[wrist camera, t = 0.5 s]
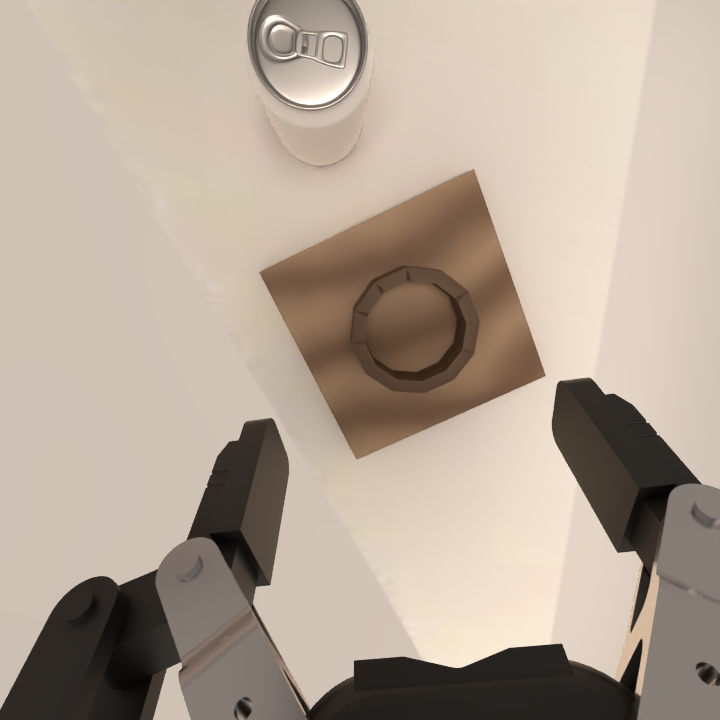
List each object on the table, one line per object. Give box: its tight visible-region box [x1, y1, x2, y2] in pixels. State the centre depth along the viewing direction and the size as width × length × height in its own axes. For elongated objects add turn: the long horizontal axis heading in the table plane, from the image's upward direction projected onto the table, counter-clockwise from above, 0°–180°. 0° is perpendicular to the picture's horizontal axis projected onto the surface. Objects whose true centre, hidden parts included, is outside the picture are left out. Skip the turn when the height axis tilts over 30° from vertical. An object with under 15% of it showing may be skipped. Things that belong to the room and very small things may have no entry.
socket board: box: [259, 169, 546, 459], centre depth 33 cm, size 18×18×4 cm
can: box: [246, 0, 373, 166], centre depth 25 cm, size 6×6×12 cm
